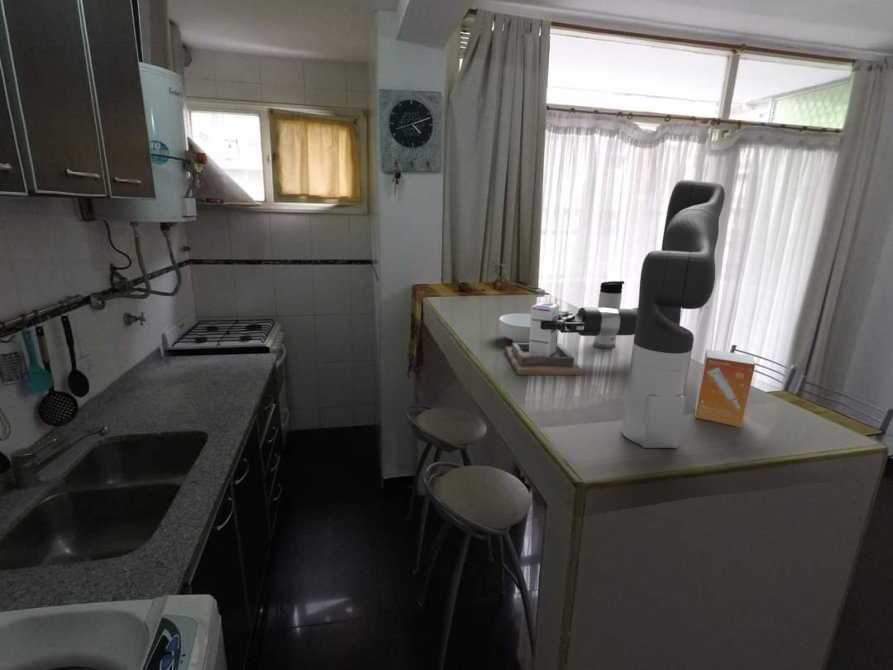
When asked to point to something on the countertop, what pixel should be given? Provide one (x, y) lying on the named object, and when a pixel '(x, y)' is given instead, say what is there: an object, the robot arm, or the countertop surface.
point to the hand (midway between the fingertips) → (537, 321)
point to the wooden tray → (542, 361)
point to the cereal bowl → (516, 327)
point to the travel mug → (609, 299)
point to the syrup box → (543, 340)
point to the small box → (724, 387)
